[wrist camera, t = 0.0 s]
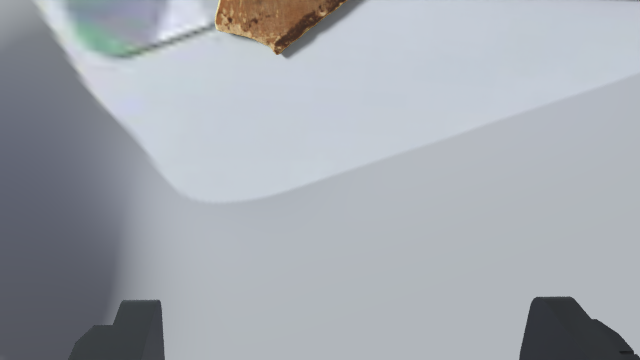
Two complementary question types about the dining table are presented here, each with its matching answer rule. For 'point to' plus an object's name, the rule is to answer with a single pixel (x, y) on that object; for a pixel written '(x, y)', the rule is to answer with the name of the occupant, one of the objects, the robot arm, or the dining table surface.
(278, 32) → the shard
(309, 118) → the dining table surface
